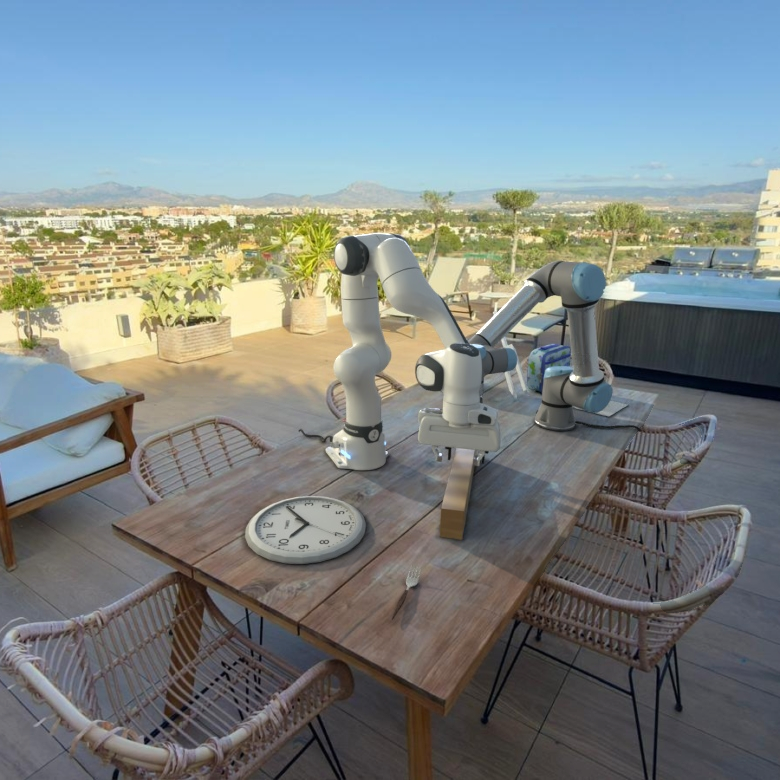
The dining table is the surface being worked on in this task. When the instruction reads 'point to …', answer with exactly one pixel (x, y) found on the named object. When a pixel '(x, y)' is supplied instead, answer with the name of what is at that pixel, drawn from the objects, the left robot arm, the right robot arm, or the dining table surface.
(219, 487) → the dining table surface
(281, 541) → the wall clock
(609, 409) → the invitation card
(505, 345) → the white plastic object
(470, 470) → the bar
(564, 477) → the dining table surface
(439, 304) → the left robot arm
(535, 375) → the lunch box
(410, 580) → the fork
